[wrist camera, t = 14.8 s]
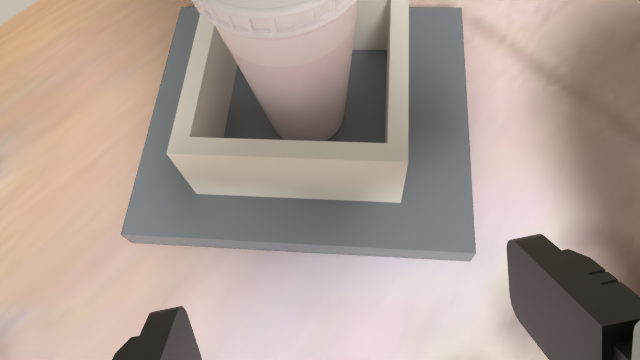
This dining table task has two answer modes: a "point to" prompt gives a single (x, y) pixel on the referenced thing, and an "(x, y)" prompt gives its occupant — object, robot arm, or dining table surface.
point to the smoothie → (291, 58)
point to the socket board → (315, 149)
